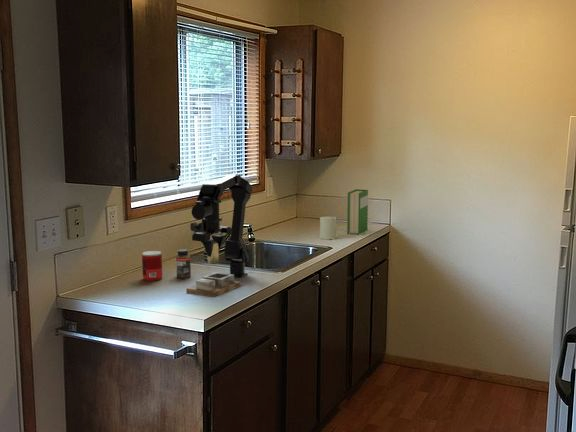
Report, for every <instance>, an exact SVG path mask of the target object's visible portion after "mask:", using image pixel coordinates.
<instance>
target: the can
mask: <svg viewBox="0 0 576 432" xmlns="http://www.w3.org/2000/svg"><path fill="white" fill-rule="evenodd" d="M320 238H322V239H321V240H324V239H333V240H335V238H336V239H337V217H336V216H328V215H327V216H320V217H319V239H320Z"/></svg>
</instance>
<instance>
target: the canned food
mask: <svg viewBox="0 0 576 432" xmlns="http://www.w3.org/2000/svg"><path fill="white" fill-rule="evenodd" d="M141 263H142V265H141V266H142V267H141V268H142V278H143V281H146V282H155V281H160V280H162V278H163V255H162V251H158V250H148V251H143V252H142V254H141Z"/></svg>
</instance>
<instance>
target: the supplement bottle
mask: <svg viewBox="0 0 576 432" xmlns="http://www.w3.org/2000/svg"><path fill="white" fill-rule="evenodd" d="M188 253H189V250H188V249H185V248H183V249H178V250H177V255H176V256H175V268H176V271H175V272H176V277H177V278H180V279H184V278H185V279H186V278H191V276H192V271H191V269H192V267H191V266H192V265H191V256H190V255H189V254H188Z"/></svg>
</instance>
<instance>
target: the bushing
mask: <svg viewBox="0 0 576 432" xmlns="http://www.w3.org/2000/svg"><path fill="white" fill-rule="evenodd" d="M219 254H220V251H219V246H218V242H214V244H213V249H212V254H211V257H209V256H208V255H207V264H208V265H218V264H220V257H219V256H220V255H219Z"/></svg>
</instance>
